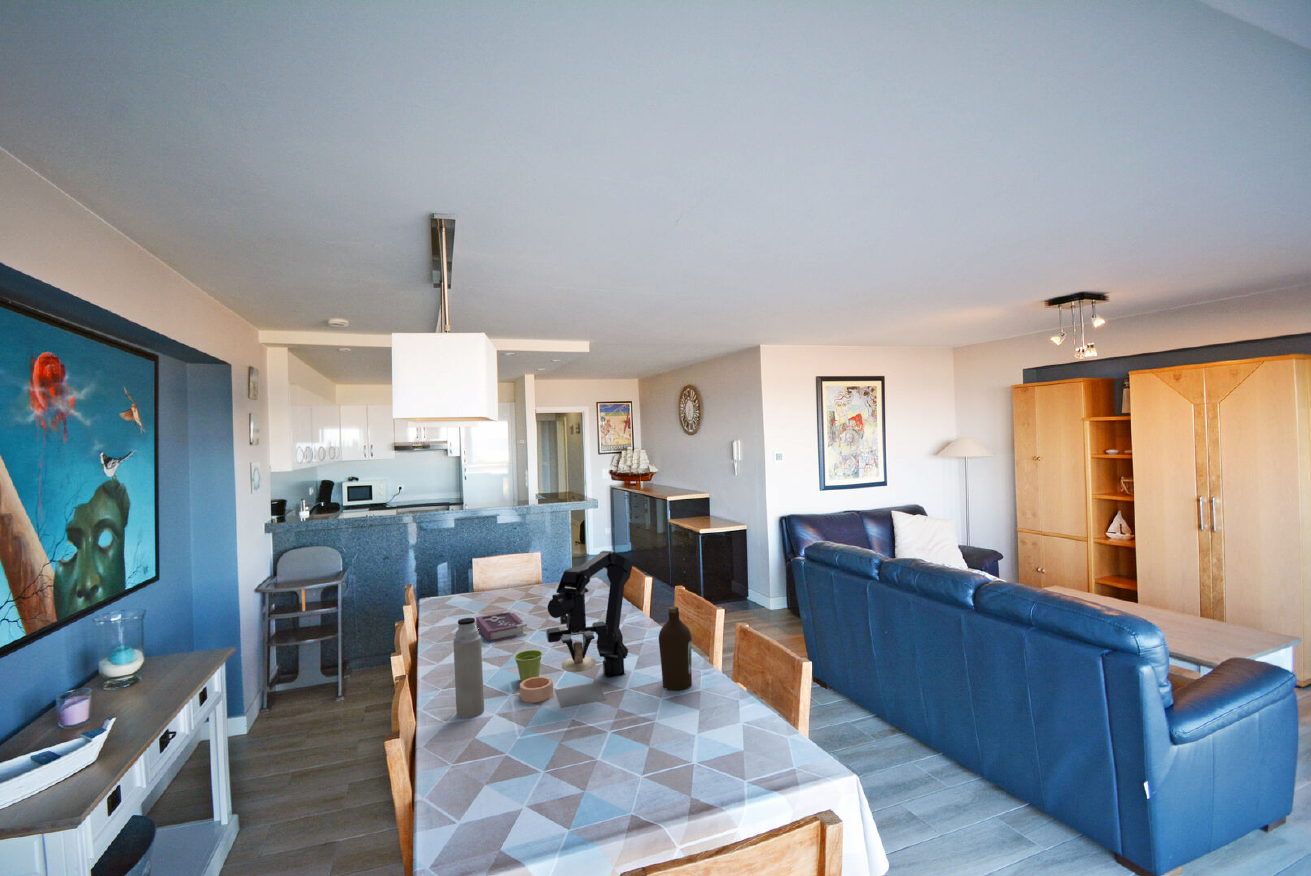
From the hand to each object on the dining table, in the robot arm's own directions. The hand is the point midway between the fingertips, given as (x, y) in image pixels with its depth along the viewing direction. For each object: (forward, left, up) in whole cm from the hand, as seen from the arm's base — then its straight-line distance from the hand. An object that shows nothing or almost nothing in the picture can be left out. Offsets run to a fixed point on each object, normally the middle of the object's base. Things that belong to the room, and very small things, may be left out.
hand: (578, 659), depth 185 cm
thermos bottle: (+33, -2, -12) cm, 35 cm away
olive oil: (-31, +4, -12) cm, 34 cm away
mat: (0, 0, -12) cm, 12 cm away
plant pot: (+14, -20, -12) cm, 27 cm away
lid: (0, 0, -2) cm, 2 cm away
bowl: (+13, -5, -12) cm, 18 cm away
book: (+21, -82, -12) cm, 86 cm away
